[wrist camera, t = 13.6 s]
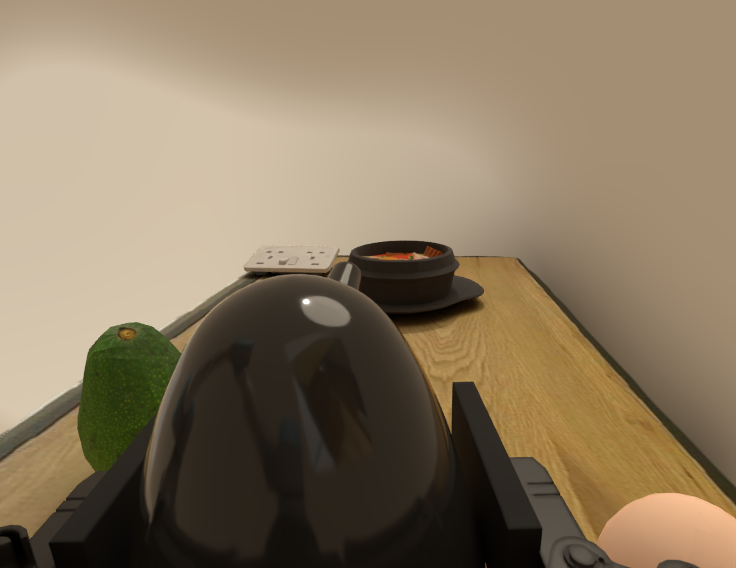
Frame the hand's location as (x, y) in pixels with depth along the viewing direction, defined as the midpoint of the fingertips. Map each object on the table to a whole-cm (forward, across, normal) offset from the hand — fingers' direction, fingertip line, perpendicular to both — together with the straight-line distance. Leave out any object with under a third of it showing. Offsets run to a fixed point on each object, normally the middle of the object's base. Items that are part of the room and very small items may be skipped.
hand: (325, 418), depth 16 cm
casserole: (+49, +6, -12) cm, 51 cm away
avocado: (+12, -14, -12) cm, 22 cm away
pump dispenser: (-4, 0, -9) cm, 10 cm away
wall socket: (+70, -14, -12) cm, 72 cm away
